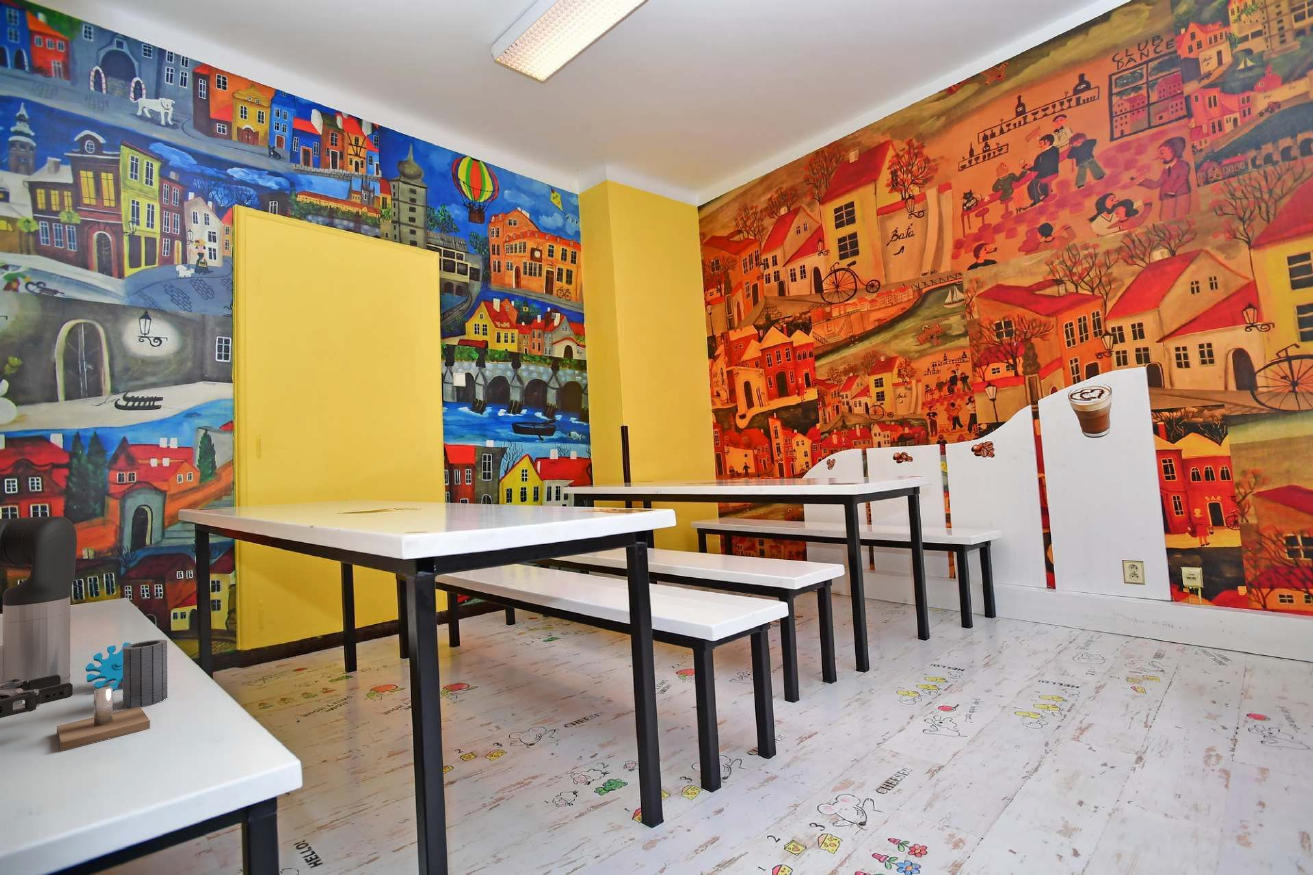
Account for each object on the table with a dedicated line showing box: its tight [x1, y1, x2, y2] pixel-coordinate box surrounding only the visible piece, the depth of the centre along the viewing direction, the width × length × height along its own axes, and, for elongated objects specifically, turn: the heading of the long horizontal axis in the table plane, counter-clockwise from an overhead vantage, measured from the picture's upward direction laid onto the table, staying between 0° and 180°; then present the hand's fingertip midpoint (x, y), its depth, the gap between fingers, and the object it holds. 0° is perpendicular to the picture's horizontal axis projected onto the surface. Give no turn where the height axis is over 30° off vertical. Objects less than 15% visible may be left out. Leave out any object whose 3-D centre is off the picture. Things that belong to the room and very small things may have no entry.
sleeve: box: [122, 639, 168, 709], centre depth 110 cm, size 6×6×10 cm
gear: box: [84, 641, 132, 692], centre depth 122 cm, size 11×6×10 cm
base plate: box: [56, 706, 151, 752], centre depth 97 cm, size 10×10×1 cm
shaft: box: [93, 686, 114, 726], centre depth 97 cm, size 2×2×5 cm
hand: (65, 684), depth 102 cm, fingers open, 8 cm apart
